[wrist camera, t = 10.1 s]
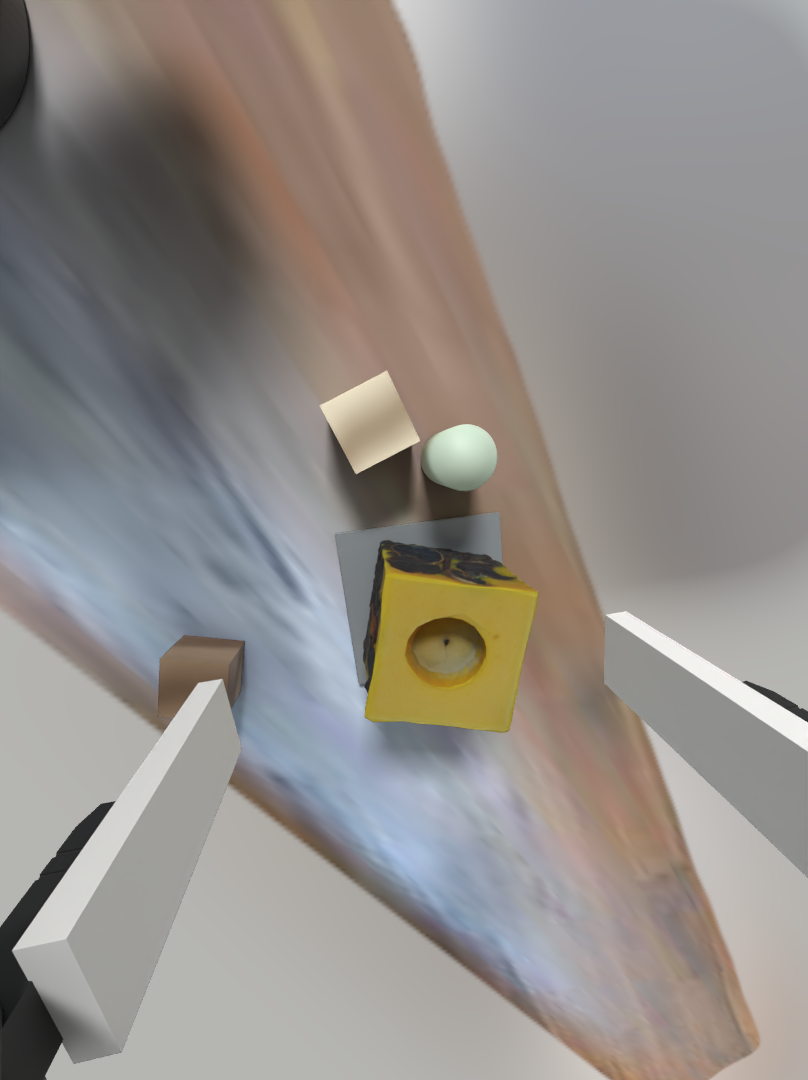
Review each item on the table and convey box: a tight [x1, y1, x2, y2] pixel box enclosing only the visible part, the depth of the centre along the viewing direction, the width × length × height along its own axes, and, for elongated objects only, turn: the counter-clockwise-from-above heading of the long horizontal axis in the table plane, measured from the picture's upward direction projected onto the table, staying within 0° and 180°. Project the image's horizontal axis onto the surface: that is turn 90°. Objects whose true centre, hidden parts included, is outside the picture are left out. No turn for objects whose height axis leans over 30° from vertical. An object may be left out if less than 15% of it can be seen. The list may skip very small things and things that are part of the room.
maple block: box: [320, 371, 420, 474], centre depth 28 cm, size 5×5×5 cm
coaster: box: [335, 512, 503, 684], centre depth 33 cm, size 14×14×1 cm
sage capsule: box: [421, 424, 497, 491], centre depth 28 cm, size 4×4×6 cm
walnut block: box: [158, 635, 245, 718], centre depth 31 cm, size 5×5×4 cm
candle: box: [363, 540, 539, 733], centre depth 28 cm, size 10×10×10 cm
